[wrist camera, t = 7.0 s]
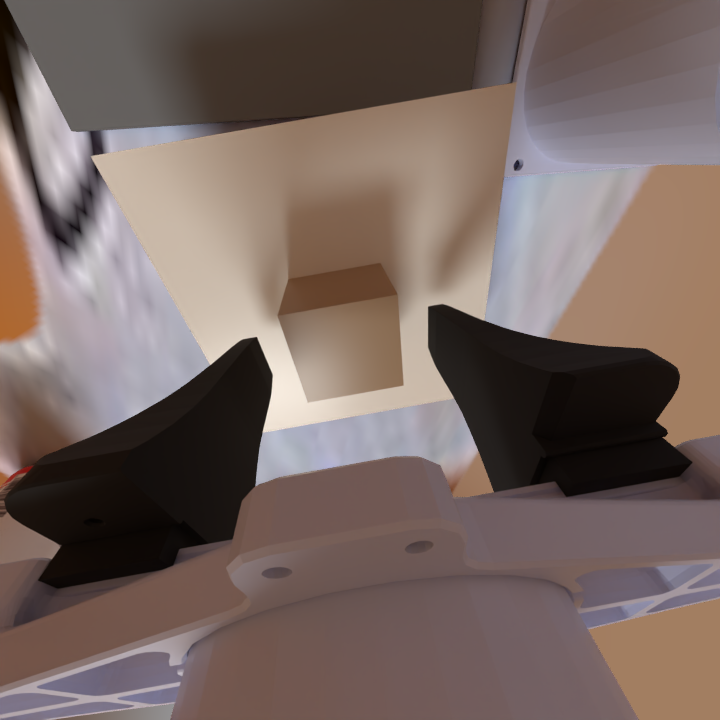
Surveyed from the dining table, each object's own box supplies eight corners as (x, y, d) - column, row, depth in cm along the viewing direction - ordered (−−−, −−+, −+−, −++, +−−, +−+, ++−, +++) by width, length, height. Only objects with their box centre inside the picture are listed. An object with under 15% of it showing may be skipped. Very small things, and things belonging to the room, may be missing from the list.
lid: (501, 88, 10) (604, 46, 6) (467, 384, 18) (503, 440, 14) (109, 156, 10) (-16, 154, 6) (253, 422, 18) (236, 488, 14)
